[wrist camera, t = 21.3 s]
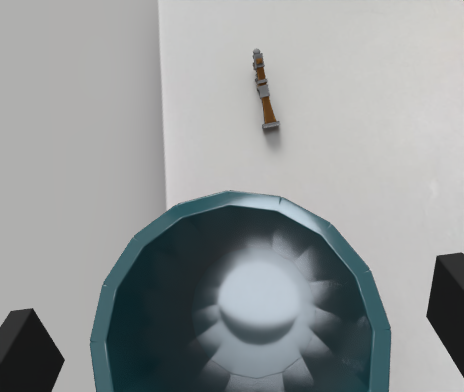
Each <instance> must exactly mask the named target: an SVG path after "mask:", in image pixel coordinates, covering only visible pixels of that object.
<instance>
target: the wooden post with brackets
mask: <svg viewBox="0 0 464 392" xmlns="http://www.w3.org/2000/svg"><path fill="white" fill-rule="evenodd" d="M253 54H254V55H253V59H254V63H253V67H254V70H256V72H257V74H256V75H257V78H256V79H255V81H256V82H257V90H259V93H260V98H262V103H263V111H264V121H265V124H264V125H262V126H263V128H267V127H272V126H276V125H280V122H279V121H276V119H275V116H274V114H273V110H272V107H271V104H270V100H269V96H270V94H269V90H268V84H266V83H267V79H265V73H264V68H263V67H264V66H265V65H264V62H263V56H262V53H260V50H259V49H257V48H256V49H254V51H253ZM263 128H262V129H263Z"/></svg>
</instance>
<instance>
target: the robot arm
mask: <svg viewBox="0 0 464 392" xmlns="http://www.w3.org/2000/svg"><path fill="white" fill-rule="evenodd" d="M426 317H427V318H428V320H429V322H430V323H431V325H432V327H433V328H434V330H435V331H436V333H437V335H438V336H439V338H440V340H441V341H442V343H443V345H444V346H445V348H446V349H447V351H448V353H449V354H450V356H451V358H452V359H453V361H454V363H455V364H456V366H457V368H458V369H459V371H460V372H461V374H462V376H463V377H464V254H463V253H454V254H447V255H439V256H437V257H436V263H435V269H434V275H433V281H432V287H431V292H430V298H429V304H428V310H427V316H426ZM64 361H65V360H64V358H63V356H62V355H61V353H60V351H59V350H58V348H57V347H56V345H55V343H54V342H53V340H52V338H51V337H50V335H49V334H48V332H47V330H46V329H45V327H44V326H43V324H42V323H41V321H40V319H39V318H38V316H37V314H36V313H35V311H34V310H33V308H32V309H24V310H16V311H11V312H10V313H9V315H8V316H7V318H6V319H5V321H4V322H3V324H2V325H1V327H0V392H52V389H53V387H54V384H55V382H56V380H57V377H58V375H59V372H60V370H61V368H62V365H63V363H64Z"/></svg>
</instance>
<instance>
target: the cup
mask: <svg viewBox="0 0 464 392" xmlns="http://www.w3.org/2000/svg"><path fill="white" fill-rule="evenodd" d="M390 329H391V327H390V324H389V321H388V318H387V316H386V313H385V310H384V307H383V304H382V301H381V298H380V295H379V292H378V290H377V287H376V284H375V281H374V278H373V275H372V272H371V271H370V270H369V267H368V266H367V265H366V263H365V262H364V261H363V260H362V259H361V258H360V256H359V255H358V254H357V253H356V252H355V250H354V249H353V248H352V247H351V246H350V245H349V243H348V242H347V241H346V240H345V239H344V237H343V236H342V235H341V234H340V233H339V232H338V230H337V229H336V228H335V227H334V226H333V225H332V224H331V223H330V222H328V221H326V220H324V219H323V218H321V217H319V216H317V215H315V214H313V213H311V212H310V211H308V210H306V209H304V208H302V207H300V206H299V205H297V204H295V203H293V202H291V201H289V200H287V199H286V198H284V197H282V198H281V197H280V196H274V195H265V194H257V193H248V192H240V191H231V190H230V191H223V192H219V193H216V194H212V195H208V196H204V197H201V198H197V199H193V200H190V201H186V202H182V203H179V204H177V205H175V206H173V207H172V208H171V209H169V210H168V211H167V212H165V213H164V214H163V215H161V216H160V217H159V218H157V219H156V220H154V221H153V222H152V223H151V224H149V225H148V226H146V227H145V228H144V229H142V230H141V231H140V232H138V233H137V234H136V235H135V236H134V237H133V238H132V239H131V241H130V242H129V244H128V245H127V247H126V248H125V250H124V252H123V253H122V254H121V256H120V258H119V259H118V261H117V262H116V264H115V266H114V267H113V268H112V270H111V272H110V274H109V275H108V276H107V278H106V279H105V281H104V284H103V285H102V289H101V293H100V298H99V302H98V306H97V311H96V316H95V320H94V325H93V329H92V334H91V338H90V341H91V342H90V348H91V356H92V364H93V371H94V379H95V386H96V392H389V375H390V352H391V330H390Z"/></svg>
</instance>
